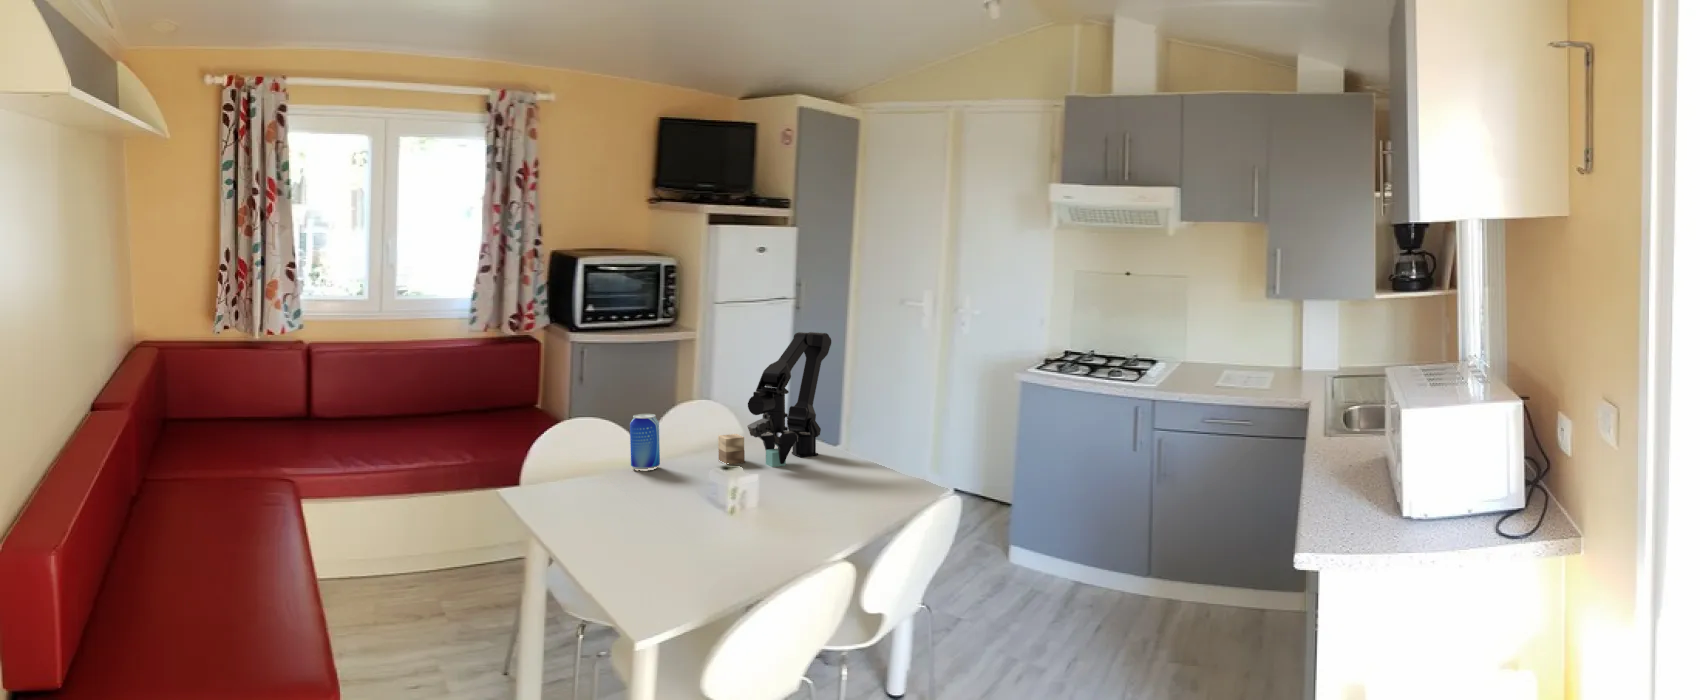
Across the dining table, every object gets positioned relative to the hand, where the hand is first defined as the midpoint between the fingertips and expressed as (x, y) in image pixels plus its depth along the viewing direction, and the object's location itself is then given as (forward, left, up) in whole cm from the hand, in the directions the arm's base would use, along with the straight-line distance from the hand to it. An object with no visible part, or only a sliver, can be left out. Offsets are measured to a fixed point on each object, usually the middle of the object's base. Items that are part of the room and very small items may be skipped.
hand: (775, 461), depth 309 cm
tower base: (+10, -10, -1) cm, 14 cm away
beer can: (+36, -14, -1) cm, 39 cm away
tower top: (+10, -10, +3) cm, 15 cm away
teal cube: (0, 0, -1) cm, 1 cm away
